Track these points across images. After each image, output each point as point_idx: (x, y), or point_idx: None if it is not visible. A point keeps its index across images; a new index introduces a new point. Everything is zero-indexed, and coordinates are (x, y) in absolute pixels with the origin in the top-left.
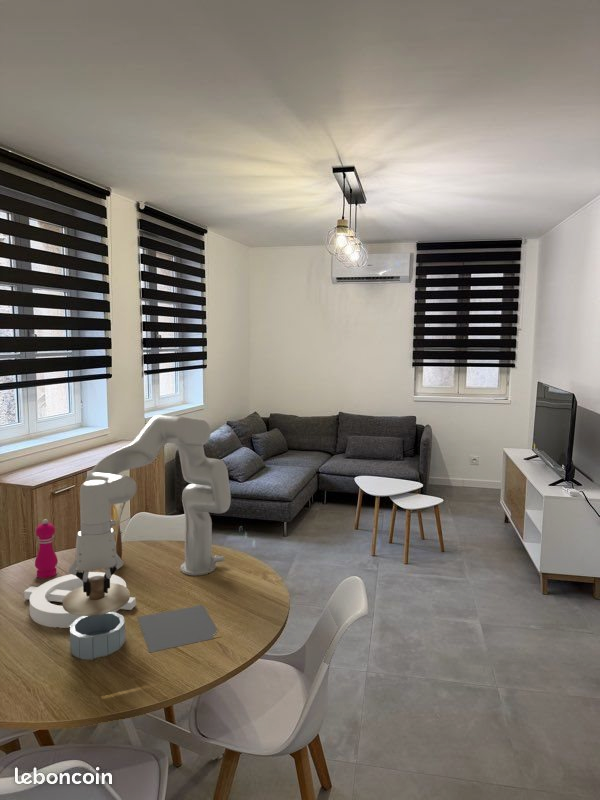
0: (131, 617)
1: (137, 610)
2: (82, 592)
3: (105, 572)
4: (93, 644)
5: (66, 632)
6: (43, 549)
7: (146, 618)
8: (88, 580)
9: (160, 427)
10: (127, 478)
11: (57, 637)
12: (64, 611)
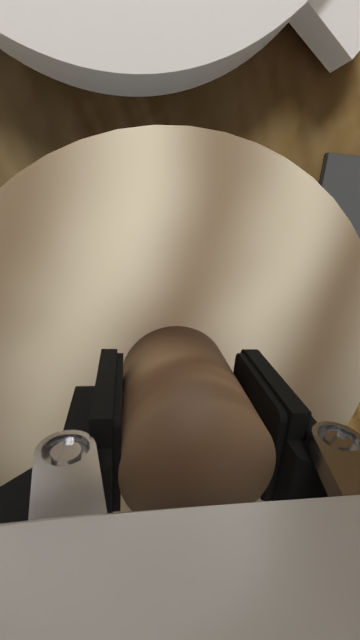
0: (310, 127)
1: (353, 70)
2: (82, 267)
3: (316, 468)
4: None
5: (41, 124)
6: None
7: (353, 182)
8: (115, 478)
9: None
10: None
11: (4, 152)
12: (8, 7)
